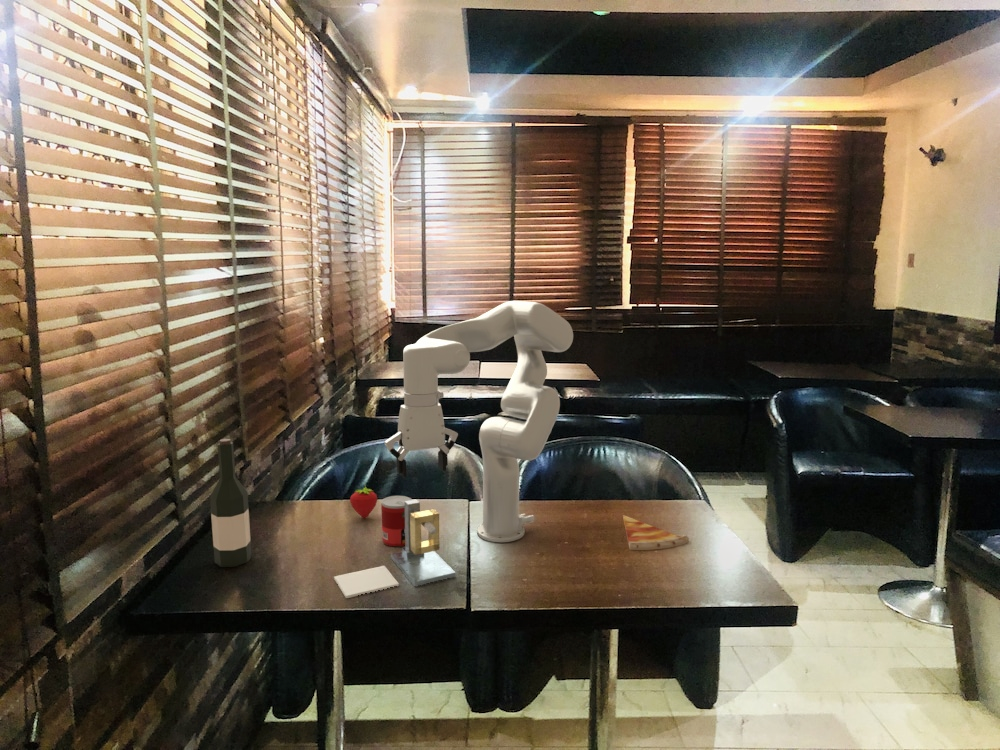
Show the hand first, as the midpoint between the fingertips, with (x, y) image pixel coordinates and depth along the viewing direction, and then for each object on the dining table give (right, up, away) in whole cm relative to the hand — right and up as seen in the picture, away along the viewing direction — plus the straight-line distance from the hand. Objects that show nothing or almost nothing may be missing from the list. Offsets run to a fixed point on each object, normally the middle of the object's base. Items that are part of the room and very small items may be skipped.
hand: (422, 472), depth 156 cm
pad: (-13, -25, -1) cm, 28 cm away
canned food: (-9, -21, +21) cm, 31 cm away
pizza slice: (+59, -21, +27) cm, 68 cm away
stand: (-1, -23, +6) cm, 24 cm away
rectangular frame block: (0, -19, +3) cm, 19 cm away
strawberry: (-20, -18, +36) cm, 45 cm away
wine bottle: (-47, -23, +9) cm, 53 cm away
